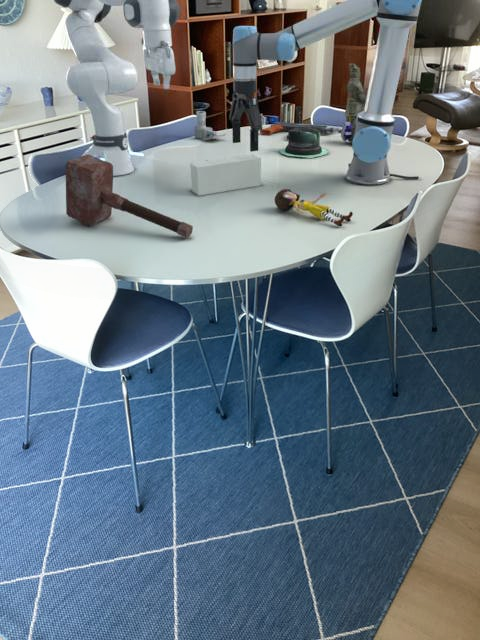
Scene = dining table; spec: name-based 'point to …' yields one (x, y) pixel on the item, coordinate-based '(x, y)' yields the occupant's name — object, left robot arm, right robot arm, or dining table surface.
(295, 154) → the green hat
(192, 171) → the box
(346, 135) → the toy
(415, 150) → the dining table surface
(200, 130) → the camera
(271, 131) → the submachine gun
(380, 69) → the right robot arm
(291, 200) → the figurine
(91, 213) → the sledgehammer
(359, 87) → the statue
